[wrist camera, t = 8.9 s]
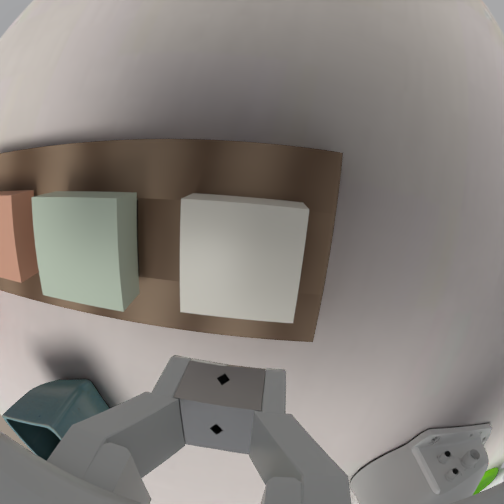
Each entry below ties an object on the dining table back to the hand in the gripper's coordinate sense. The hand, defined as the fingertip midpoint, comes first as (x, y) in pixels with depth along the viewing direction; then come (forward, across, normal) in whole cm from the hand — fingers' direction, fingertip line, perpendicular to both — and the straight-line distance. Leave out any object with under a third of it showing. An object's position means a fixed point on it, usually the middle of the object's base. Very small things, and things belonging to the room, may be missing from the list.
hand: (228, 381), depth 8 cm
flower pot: (+12, +17, +18) cm, 28 cm away
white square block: (+12, +1, -1) cm, 12 cm away
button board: (+12, +10, -1) cm, 16 cm away
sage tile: (+11, +10, -1) cm, 15 cm away
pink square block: (+11, +19, -1) cm, 22 cm away
